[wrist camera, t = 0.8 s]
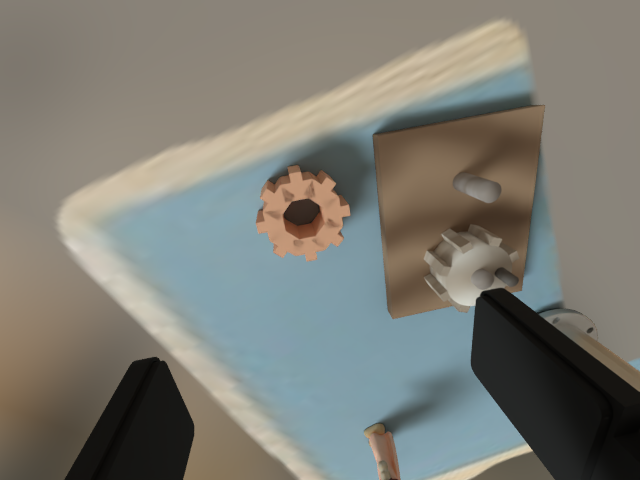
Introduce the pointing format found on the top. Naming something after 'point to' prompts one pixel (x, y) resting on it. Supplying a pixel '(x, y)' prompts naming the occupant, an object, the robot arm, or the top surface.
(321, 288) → the top surface
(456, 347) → the top surface
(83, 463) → the robot arm
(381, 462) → the grandmother figurine
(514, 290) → the gear board
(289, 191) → the terracotta gear
